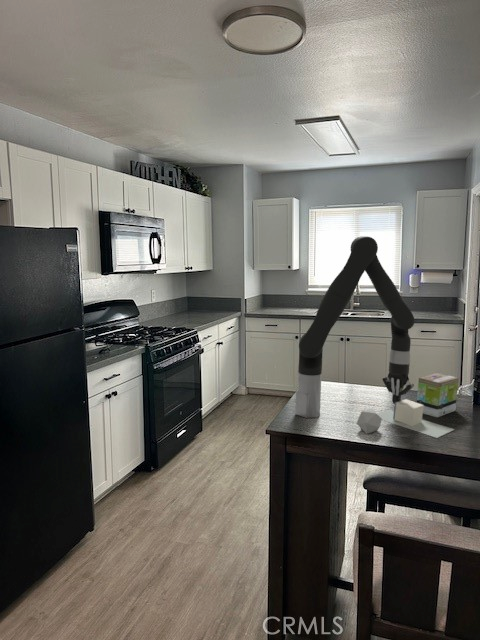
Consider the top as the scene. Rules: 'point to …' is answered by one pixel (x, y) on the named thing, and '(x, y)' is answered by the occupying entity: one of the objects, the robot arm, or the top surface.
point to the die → (369, 421)
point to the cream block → (408, 412)
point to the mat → (418, 425)
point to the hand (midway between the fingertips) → (396, 403)
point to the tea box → (437, 394)
